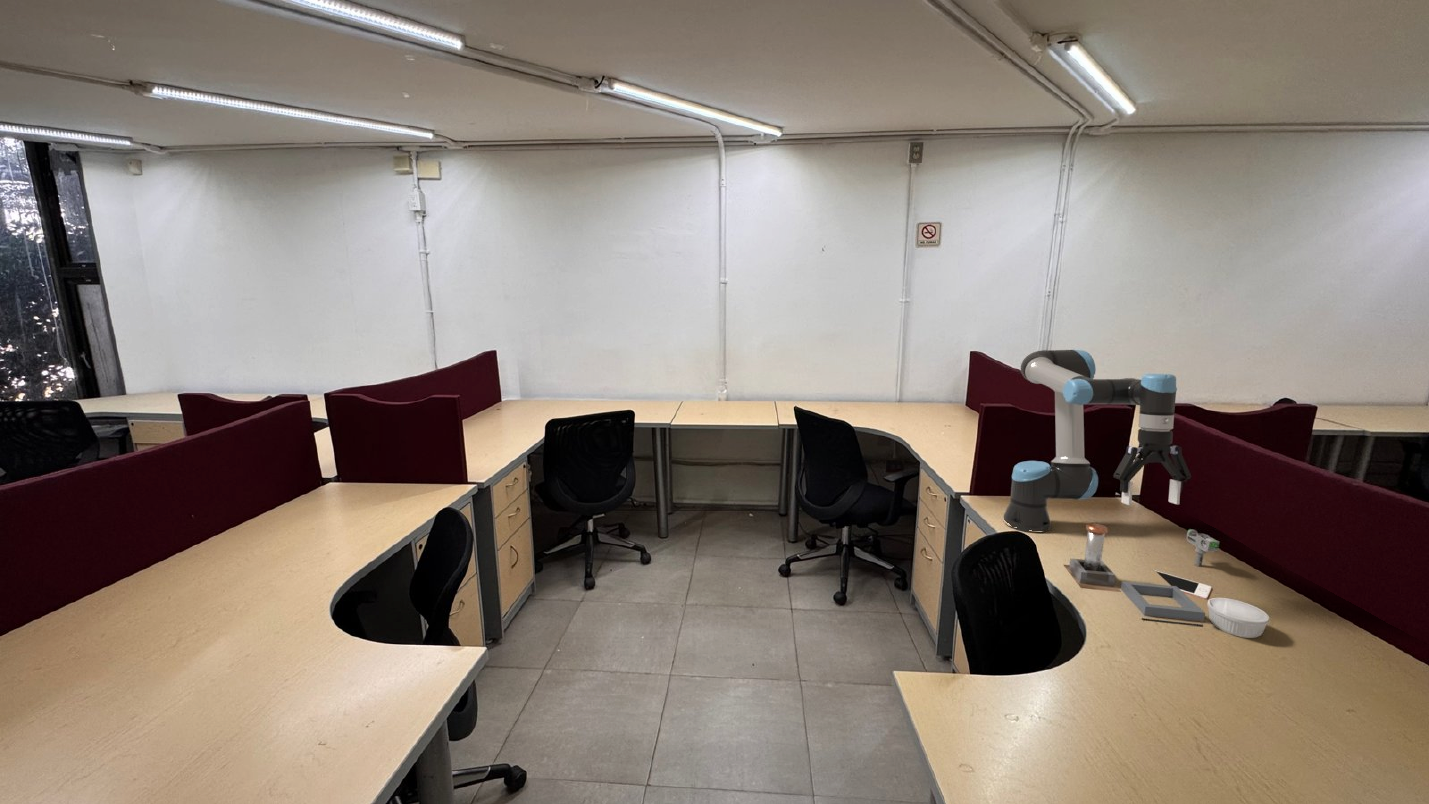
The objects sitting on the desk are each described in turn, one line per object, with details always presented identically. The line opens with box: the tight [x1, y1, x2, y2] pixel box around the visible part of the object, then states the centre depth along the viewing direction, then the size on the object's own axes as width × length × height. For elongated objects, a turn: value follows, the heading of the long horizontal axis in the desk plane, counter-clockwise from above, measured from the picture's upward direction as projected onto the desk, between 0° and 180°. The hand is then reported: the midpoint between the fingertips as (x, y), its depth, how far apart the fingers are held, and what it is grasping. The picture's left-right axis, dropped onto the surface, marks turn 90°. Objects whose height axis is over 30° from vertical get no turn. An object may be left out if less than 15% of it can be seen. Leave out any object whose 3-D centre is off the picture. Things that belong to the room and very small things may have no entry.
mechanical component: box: [1186, 528, 1220, 567], centre depth 167 cm, size 3×10×10 cm, turn 174°
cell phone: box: [1154, 570, 1212, 600], centre depth 159 cm, size 9×18×1 cm, turn 41°
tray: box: [1120, 581, 1206, 628], centre depth 145 cm, size 13×13×4 cm
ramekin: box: [1206, 597, 1270, 639], centre depth 137 cm, size 11×11×5 cm
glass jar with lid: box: [1083, 522, 1108, 571], centre depth 158 cm, size 5×5×16 cm
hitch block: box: [1063, 558, 1122, 593], centre depth 159 cm, size 14×10×5 cm
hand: (1150, 503), depth 153 cm, fingers open, 13 cm apart
